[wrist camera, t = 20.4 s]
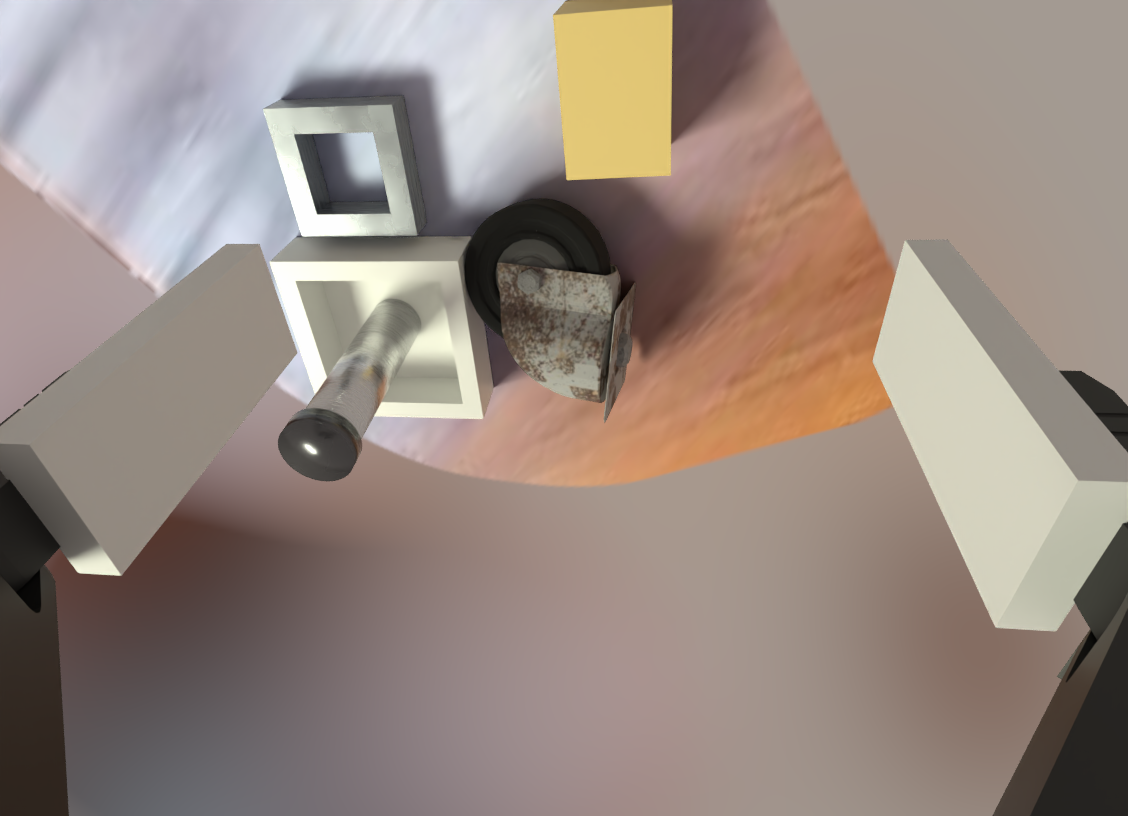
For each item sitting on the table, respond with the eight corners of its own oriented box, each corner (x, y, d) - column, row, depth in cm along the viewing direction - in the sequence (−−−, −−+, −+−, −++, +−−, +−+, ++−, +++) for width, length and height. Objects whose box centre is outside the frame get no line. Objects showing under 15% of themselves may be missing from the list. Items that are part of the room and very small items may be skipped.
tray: (295, 237, 41) (269, 261, 39) (471, 236, 40) (457, 261, 37) (341, 385, 48) (322, 414, 45) (493, 388, 47) (483, 419, 44)
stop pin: (420, 294, 42) (343, 424, 32) (429, 346, 44) (361, 482, 34) (362, 294, 43) (268, 421, 32) (375, 345, 45) (290, 479, 34)
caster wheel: (492, 187, 41) (654, 204, 39) (488, 359, 46) (632, 382, 44) (448, 201, 35) (636, 222, 33) (449, 397, 40) (614, 426, 38)
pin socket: (280, 99, 36) (262, 108, 35) (403, 95, 36) (391, 104, 34) (315, 223, 41) (301, 236, 39) (426, 222, 40) (417, 235, 38)
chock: (566, 0, 32) (553, 15, 28) (670, -9, 32) (672, 4, 28) (576, 149, 36) (566, 180, 32) (669, 144, 36) (670, 175, 32)
